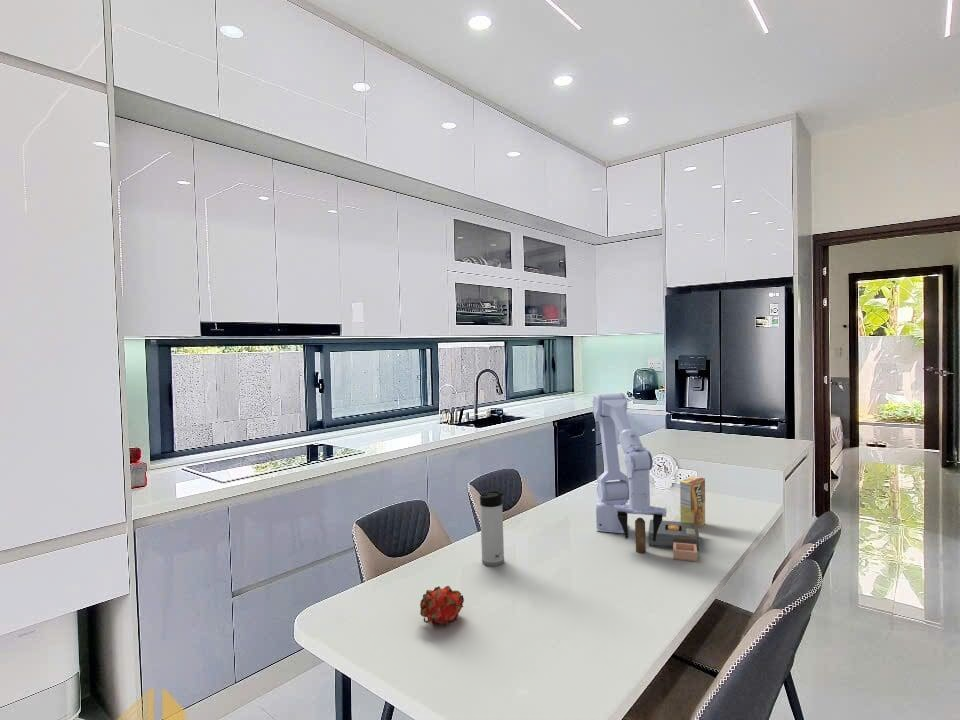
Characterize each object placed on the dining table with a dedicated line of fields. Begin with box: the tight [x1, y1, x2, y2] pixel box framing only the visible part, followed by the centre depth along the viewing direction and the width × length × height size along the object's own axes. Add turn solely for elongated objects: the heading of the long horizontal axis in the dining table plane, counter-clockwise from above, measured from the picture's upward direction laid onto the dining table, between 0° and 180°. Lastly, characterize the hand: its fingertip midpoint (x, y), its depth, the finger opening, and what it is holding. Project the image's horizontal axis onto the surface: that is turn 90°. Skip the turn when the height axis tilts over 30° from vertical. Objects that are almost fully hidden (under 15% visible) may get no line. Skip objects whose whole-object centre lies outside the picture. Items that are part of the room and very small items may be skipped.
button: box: [668, 525, 679, 531], centre depth 162 cm, size 3×3×1 cm
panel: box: [648, 519, 701, 552], centre depth 162 cm, size 14×12×4 cm
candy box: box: [679, 476, 706, 528], centre depth 174 cm, size 9×4×15 cm, turn 129°
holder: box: [672, 542, 698, 563], centre depth 150 cm, size 6×6×2 cm
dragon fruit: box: [419, 585, 465, 627], centre depth 120 cm, size 8×8×12 cm
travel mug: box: [479, 490, 505, 567], centre depth 151 cm, size 6×7×20 cm
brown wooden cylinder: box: [634, 517, 647, 554], centre depth 154 cm, size 3×3×10 cm
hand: (640, 538), depth 154 cm, fingers open, 7 cm apart
